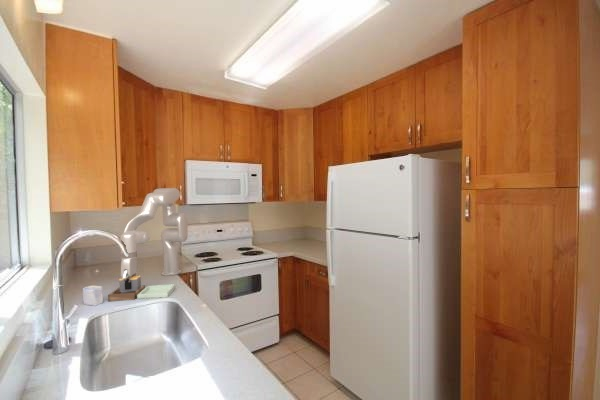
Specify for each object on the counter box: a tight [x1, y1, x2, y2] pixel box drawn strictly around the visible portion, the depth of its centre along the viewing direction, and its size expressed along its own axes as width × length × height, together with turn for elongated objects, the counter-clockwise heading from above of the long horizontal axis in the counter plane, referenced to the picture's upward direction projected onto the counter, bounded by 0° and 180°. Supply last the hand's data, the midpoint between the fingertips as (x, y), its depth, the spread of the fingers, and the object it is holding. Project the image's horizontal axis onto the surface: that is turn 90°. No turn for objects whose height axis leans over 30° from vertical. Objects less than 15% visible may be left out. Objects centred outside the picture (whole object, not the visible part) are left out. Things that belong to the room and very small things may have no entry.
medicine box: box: [82, 284, 104, 307], centre depth 139 cm, size 8×4×9 cm, turn 74°
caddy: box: [118, 275, 142, 293], centre depth 153 cm, size 5×9×7 cm, turn 99°
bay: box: [107, 284, 146, 302], centre depth 149 cm, size 12×13×4 cm
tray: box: [136, 283, 176, 300], centre depth 152 cm, size 14×15×2 cm
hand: (130, 287), depth 153 cm, fingers closed on caddy, 5 cm apart
